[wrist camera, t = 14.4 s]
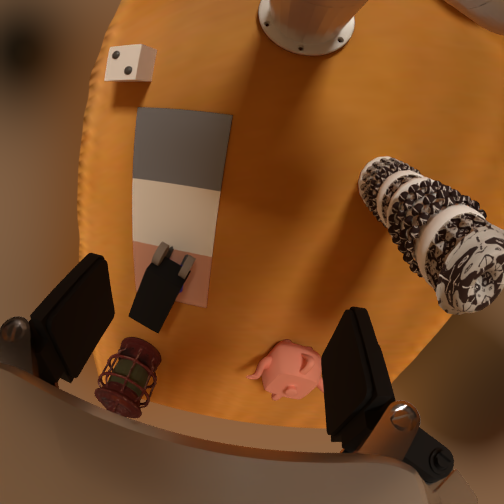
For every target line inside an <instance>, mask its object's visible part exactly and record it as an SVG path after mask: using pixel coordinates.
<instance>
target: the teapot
mask: <svg viewBox="0 0 504 504" xmlns="http://www.w3.org/2000/svg"><path fill="white" fill-rule="evenodd" d="M321 370H322V368H321V357H320V355H319V354H318V353H317V352H316V351H314V350H313V349H312V348H311V347H304V346H302V345H298V344H294V343H292V342H291V340H288V339H285V340H283V341H280V342H278V343H277V344H276V345H275V347H274V348H273V349H272V350H271V351H270V352H269V354H268V355H267V356H266V357H264V358H263V359H261V360H260V362H259V363H258V365H257V369H256V371H255V373H254V374H252V375H248V376H246V378H248V379H258V378H259V377H260V376H261V375H262V381H263V385H264V389H265V390H266V391H268V392H271V393H272V399H273V400H278V399H280V398H281V397H282V396H284V397H288V398H293V399H301V398H303V397H304V396H306V395H307V394H308V393H309V392H311V391H312V390H313V389H314V388H315V387H316V386H317V387H318V388H319V389H320V390H321V391H322V392H323V393H324V388H323V379H322V378H321V377H320V376H321Z"/></svg>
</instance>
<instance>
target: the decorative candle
mask: <svg viewBox="0 0 504 504" xmlns="http://www.w3.org/2000/svg"><path fill="white" fill-rule="evenodd" d="M358 186H359V194H360V196H361V197H362V199H363V201H364V203H365V204H366V207H369V210H370V211H372V212H373V215H374V216H376V218H377V220H378V221H381V222H383V225H384V226H385V227H387V228H388V232H389V234H390V235H391V237H392V241H393V243H395V244H398V250H399V251H400V252H402V253H403V254H404V255H403V260H404V261H405V262H407V263H408V264H410V270H411V271H412V272H414V273H417V274H418V276H419V277H424V279H425V280H426V282H427V283H428V284H429V285H430V286H431V287H433V288H434V290H435V292H436V295H437V299H438V304H439V306H440V307H441V308H442V309H443V310H444V311H445V312H447V313H450V314H458V315H460V314H463V313H474V312H477V311H480V310H482V309H484V308H485V307H487V306H488V305H489V304H491V303H492V302H493V301H494V300H495V299H496V297H497V296H498V295H499V294H500V292H501V291H502V289H503V287H504V230H502V229H500V228H498V227H496V226H494V225H492V224H490V223H489V222H488V221H486V220H485V218H486V217H487V215H486V213H485V211H484V210H482V209H481V210H479V208H480V205H479V203H478V202H477V201H475V200H472V201H471V198H470V197H469V196H464V195H461V194H460V193H459V192H458V191H457V190H455V189H451V187H450V186H446V185H444V184H441V182H439V181H434V180H432V179H429V178H427V177H424V176H422V175H421V174H420V172H419V170H417V169H414V168H413V167H410V166H409V165H408V164H407V163H404V162H402V161H399V160H397V159H395V158H391V157H388V156H386V157H377V158H375V159H373V160H372V161H370V162H368V163H367V165H366V166H365V167H364V168H363V170H362V171H361V174H360V177H359V181H358ZM467 205H468V206H469V207H468V206H467ZM413 258H414V259H415V260H416V261H415V260H414V259H413ZM418 267H419V268H418Z"/></svg>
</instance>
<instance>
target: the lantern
mask: <svg viewBox="0 0 504 504" xmlns="http://www.w3.org/2000/svg"><path fill="white" fill-rule="evenodd" d="M118 357H119V358H118ZM112 358H115V360H114V362H113V363H112V365H111V360H112ZM117 358H118V359H119V361H118V363H117V364H116V366H115V368H114V370H113V366H114V364H115V362H116V360H117ZM160 362H161V356H160V353H159V352H158V351H157V349H156V348H155V347H153V346H152V345H151V344H150V343H148V342H147V341H144V340H142V339H139V338H135V337H128V338H125V339H124V340H123V341H122V343H121V347H120V349H119V351H118V353H117V354H114V355H112V356H111V357H110V358H109V359H108V362H107V365H106V366H105V368H104V370H103V372H102V374H100V376H99V379H98V385H99V386H100V383H99V382H101V384H102V385H103V386H102V388H101V386H100V388H98V389H96V390H95V396H96V398H97V399H98V401H100V402H101V403H102V404H103V405H104V406H105V408H106V409H107V410H108V411H110V412H113V413H116V414H118V415H121V416H124V417H129V418H139V417H140V416H141V415H142V412H141V410H140V408H143V407H146V406H147V405H148V403H149V402H150V397H151V394H152V391H153V388H154V387H155V385H156V381H157V376H156V373H155V371H156V370H157V367H158V365H159V364H160ZM108 365H109V367H110V369H109V370H108V372H105V370H106V368H107V366H108ZM111 371H112V372H111ZM153 372H154V373H153ZM154 374H155V375H154ZM104 375H106V384H104V383H103V381H102V376H104ZM109 375H111V376H110V378H109V380H108V382H107V378H108V376H109ZM151 376H152V377H153V380H154V382H153V384H152V385H150V386H147V384H148V382H149V379H150V377H151ZM147 388H152V389H151V391H150V394H149V395H148V394H147V392H146V389H147ZM144 394H145V395H146V397H147V400H146V402H144V403H140V400H141V398H142V396H143V395H144ZM140 405H144V406H141V407H140Z"/></svg>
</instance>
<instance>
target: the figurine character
mask: <svg viewBox="0 0 504 504" xmlns="http://www.w3.org/2000/svg"><path fill="white" fill-rule="evenodd" d="M173 250H174V249H173V246H172V247H170V248H169V245H168V244H166V243H164V242H161V243H160V245H159V246H158V248H157V250H156V251H155V253H154V255H153V258H152V261H151V263H150V265H149V266H148V267H147V268H146V270H145V273H144V276H143V278H142V281H141V283H140V286H139V289H138V291H137V294H136V297H135V299H134V302H133V305H132V308H131V310H130V313H129V317H131V318H132V319H134V320H136V321H137V322H139V323H141V324H142V325H144V326H146V327H148V328H149V329H151V330H153V331H155V332H156V333H159V331H160V329H161V327H162V325H163V323H164V321H165V319H166V317H167V315H168V313H169V312H170V310H171V308H172V306H173V304H174V302H175V300H176V298H177V296H178V294H179V293H181V292H182V290H183V285H184V283H185V281H186V279H187V278H188V276H189V274H190V272H191V271H190V269H191V267H192V265H193V263H194V261H195V260H196V258H194V257H192V256H191V255H188V254H187V255H185V256H184V258H183V261H182V263H181V265H179V264H178V263H176V262H174V261H172V260H171V259H169V258H170V256H171V254H172V252H173ZM166 253H167V254H166ZM165 255H166V256H165Z"/></svg>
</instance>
